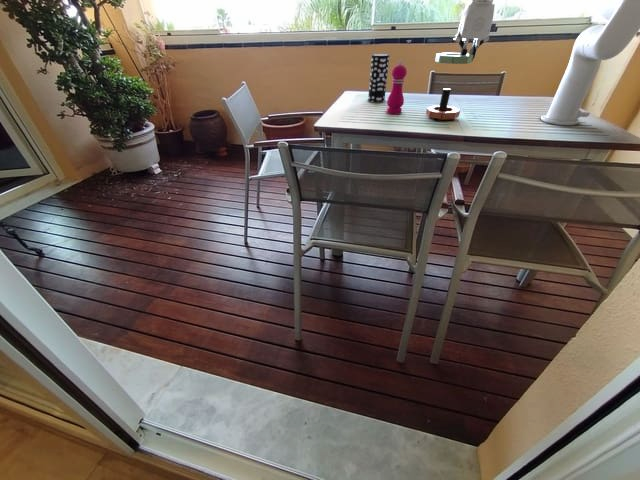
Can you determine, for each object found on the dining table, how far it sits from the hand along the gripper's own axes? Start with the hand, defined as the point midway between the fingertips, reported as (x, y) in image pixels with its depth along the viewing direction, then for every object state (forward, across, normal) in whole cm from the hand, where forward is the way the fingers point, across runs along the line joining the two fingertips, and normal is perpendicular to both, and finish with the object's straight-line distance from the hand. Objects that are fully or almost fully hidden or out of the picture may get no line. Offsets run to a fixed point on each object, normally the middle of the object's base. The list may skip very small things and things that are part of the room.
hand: (466, 60), depth 114 cm
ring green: (0, -5, 0) cm, 5 cm away
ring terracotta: (+20, -4, 0) cm, 20 cm away
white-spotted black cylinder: (+21, -27, +33) cm, 47 cm away
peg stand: (+21, -5, 0) cm, 21 cm away
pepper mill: (+21, -23, +9) cm, 32 cm away
